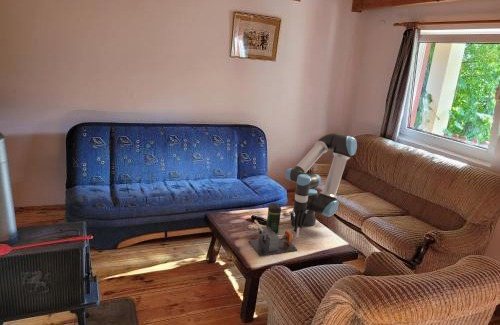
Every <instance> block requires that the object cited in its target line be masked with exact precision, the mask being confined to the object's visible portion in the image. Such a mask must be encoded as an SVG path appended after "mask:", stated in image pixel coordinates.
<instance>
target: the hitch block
mask: <svg viewBox="0 0 500 325" xmlns="http://www.w3.org/2000/svg"><path fill="white" fill-rule="evenodd" d="M261 227H262V229H263V230H264V232H265V233H264V234H263V233H262V232H261V231H260V229H259V228H258V234H259V235H258V238H256V239H250V240H248V243H249V244H250V246H251V245H252V246H251V247H252V248H253V250H254V251H255V252H256V254H257V255H258V256H259V257H260V258H261V257H267V256H273V255H281V254H286V253H287V254H288V253H294V252H298V248H297V247H296V246H295V245H294V244H293V242H292V243H288V242H287V241H286V240H285V239H283V240H279V239H280V238H279V236H278V235H279V234H276V233H275V232H274V231H273V230H272V229H271V228H270V227H266V226H261Z"/></svg>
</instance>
